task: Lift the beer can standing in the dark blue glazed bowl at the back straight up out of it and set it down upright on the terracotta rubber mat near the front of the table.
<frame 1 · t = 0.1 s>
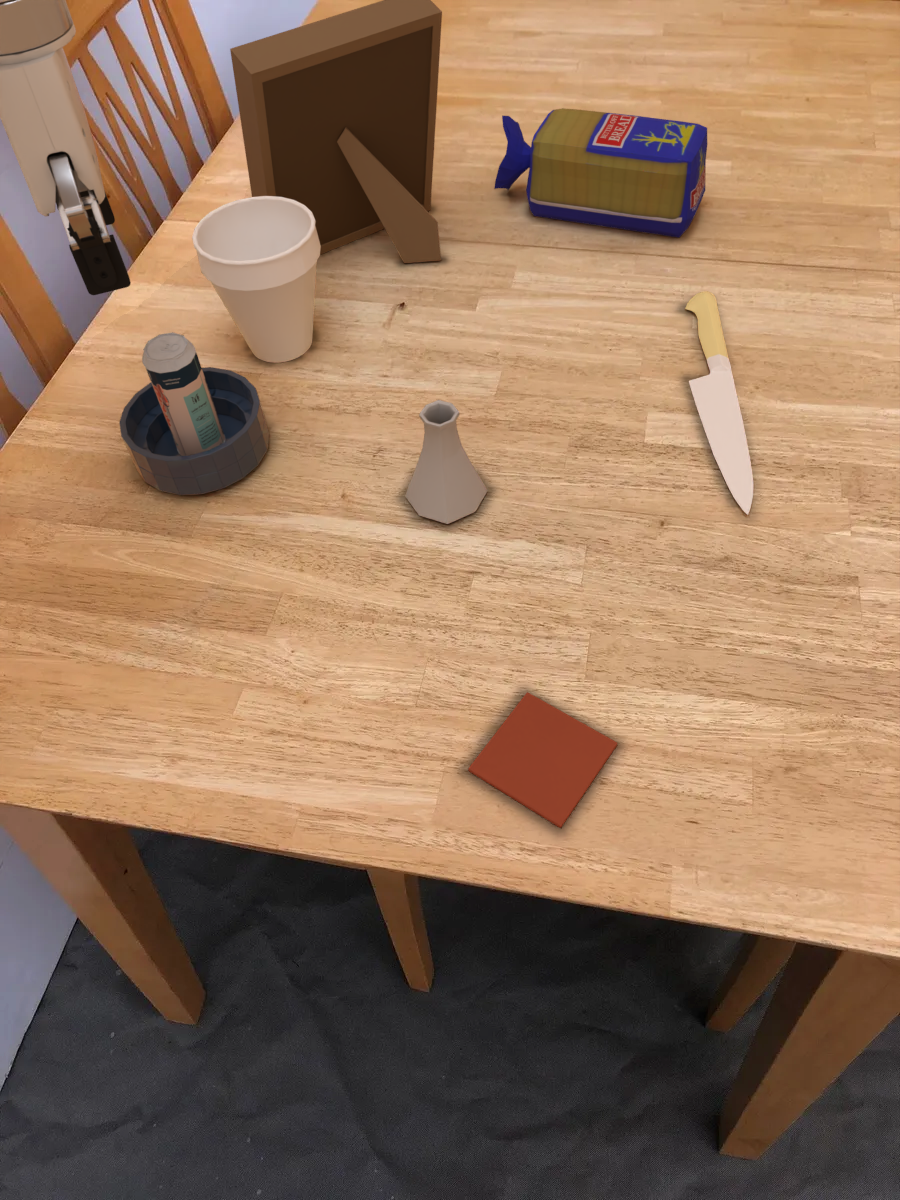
hand: (103, 256, 73), 22 cm above the table, tool pointing down, fingers open, 9 cm apart
bread: (598, 210, 114), on the table
flask: (446, 497, 86), on the table
mat: (543, 758, 69), on the table
beer can: (203, 448, 91), resting on bowl
cup: (282, 344, 102), on the table
knife: (713, 397, 92), on the table
bowl: (203, 450, 92), on the table
photo frame: (369, 253, 112), on the table
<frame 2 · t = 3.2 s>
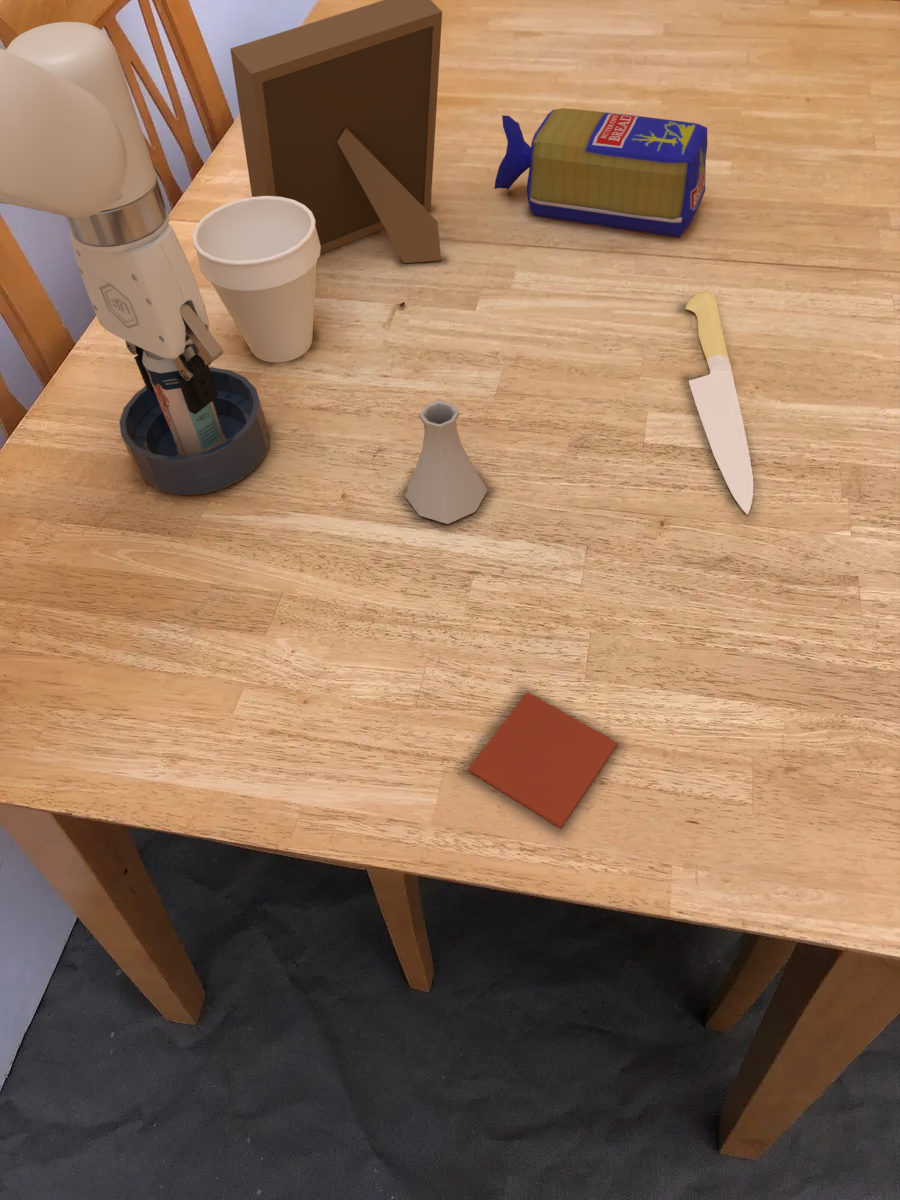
hand: (182, 392, 86), 7 cm above the table, tool pointing down, fingers closed on beer can, 4 cm apart
beer can: (203, 448, 91), resting on bowl, touching gripper
everything else where it was.
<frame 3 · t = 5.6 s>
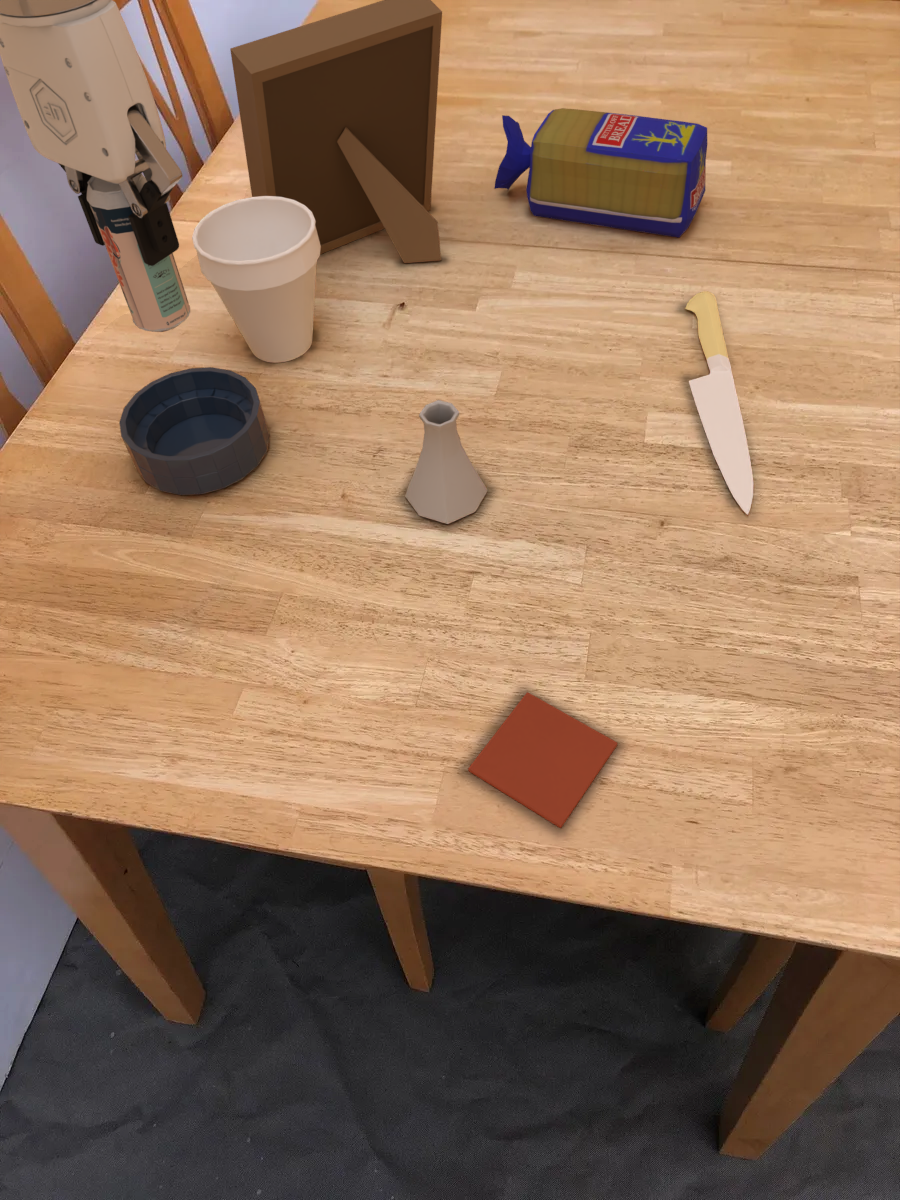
hand: (137, 244, 72), 24 cm above the table, tool pointing down, fingers closed on beer can, 4 cm apart
beer can: (164, 321, 77), point 17 cm above the table, touching gripper
everything else where it was.
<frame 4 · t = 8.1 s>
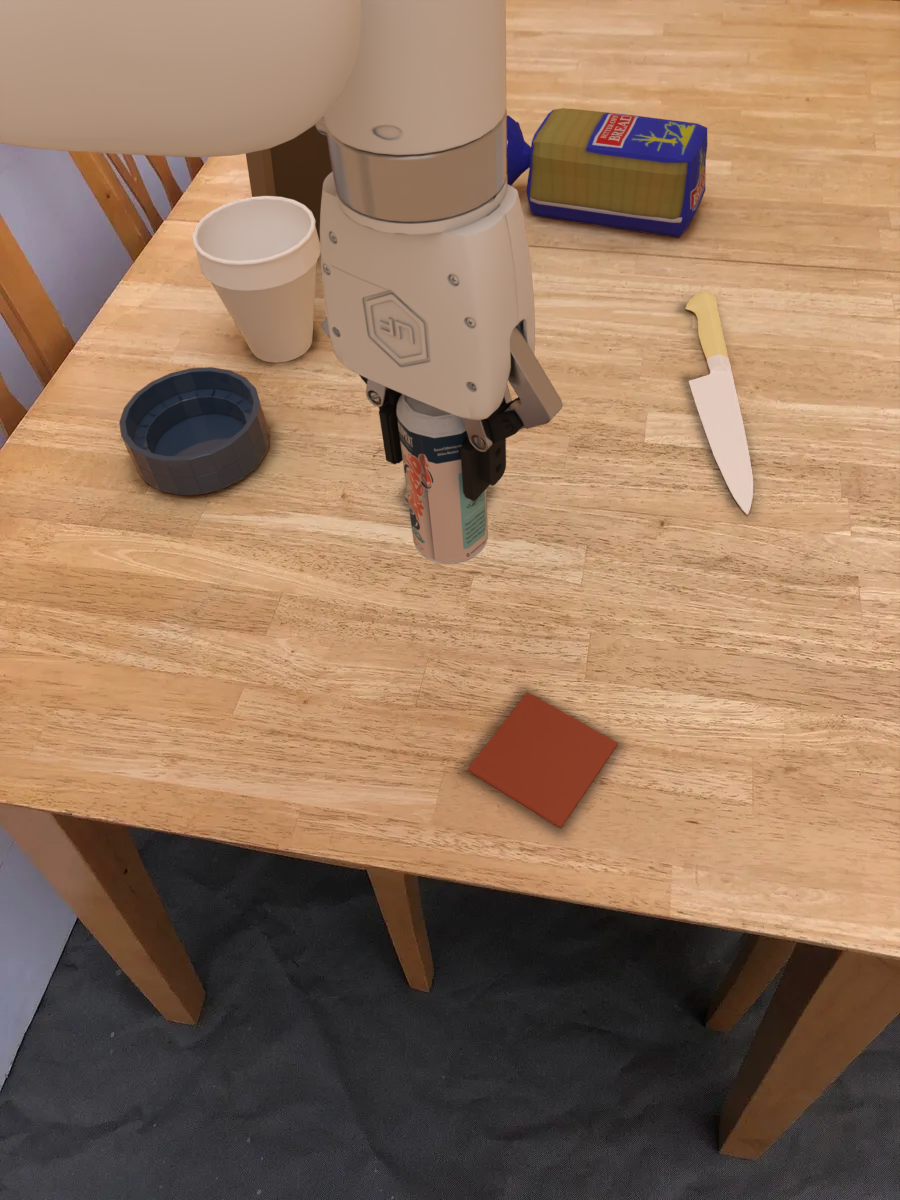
hand: (444, 464, 54), 24 cm above the table, tool pointing down, fingers closed on beer can, 4 cm apart
beer can: (451, 542, 59), point 17 cm above the table, touching gripper
everything else where it was.
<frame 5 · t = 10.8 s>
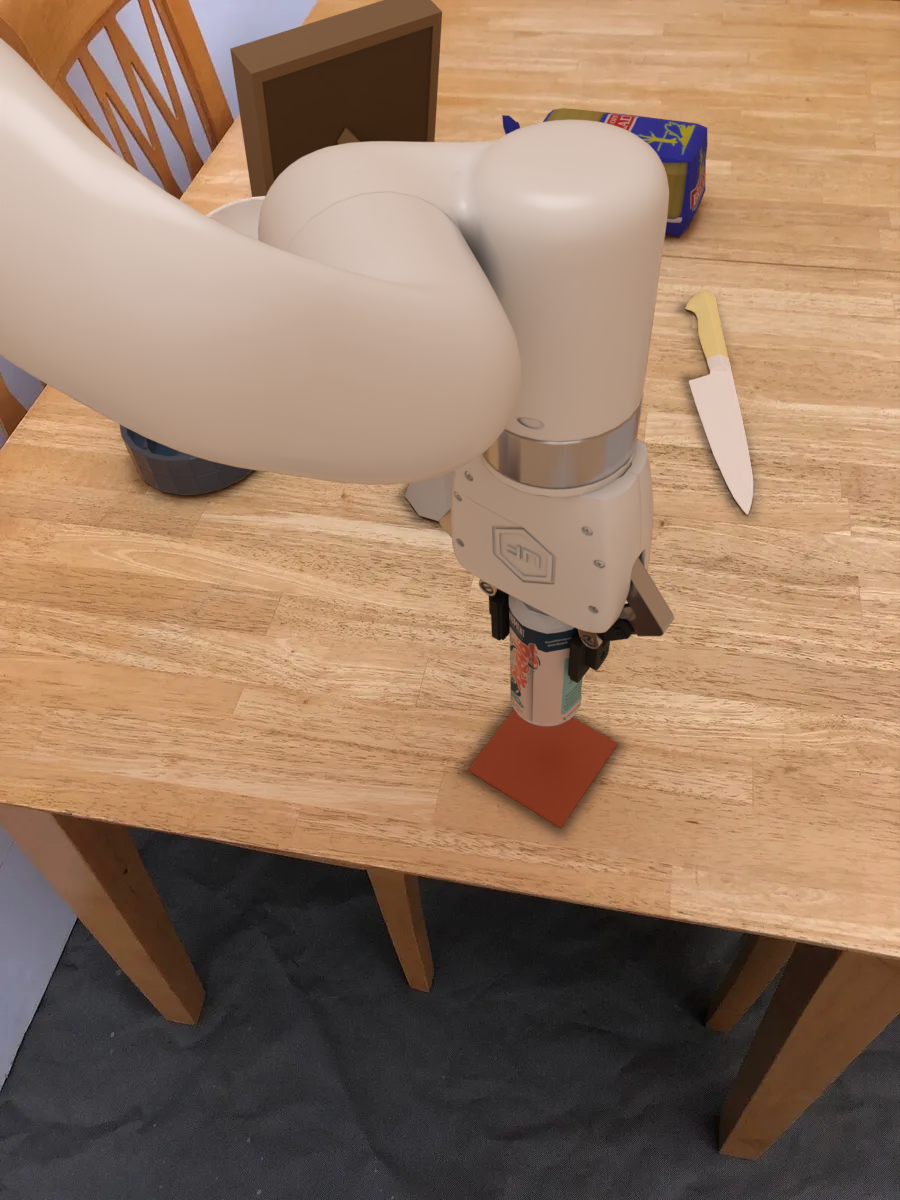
hand: (547, 642, 57), 15 cm above the table, tool pointing down, fingers closed on beer can, 4 cm apart
beer can: (545, 700, 62), point 8 cm above the table, touching gripper
everything else where it was.
when the fingers open (7 cm above the table, at t = 13.0 s): beer can stays where it is, resting on mat.
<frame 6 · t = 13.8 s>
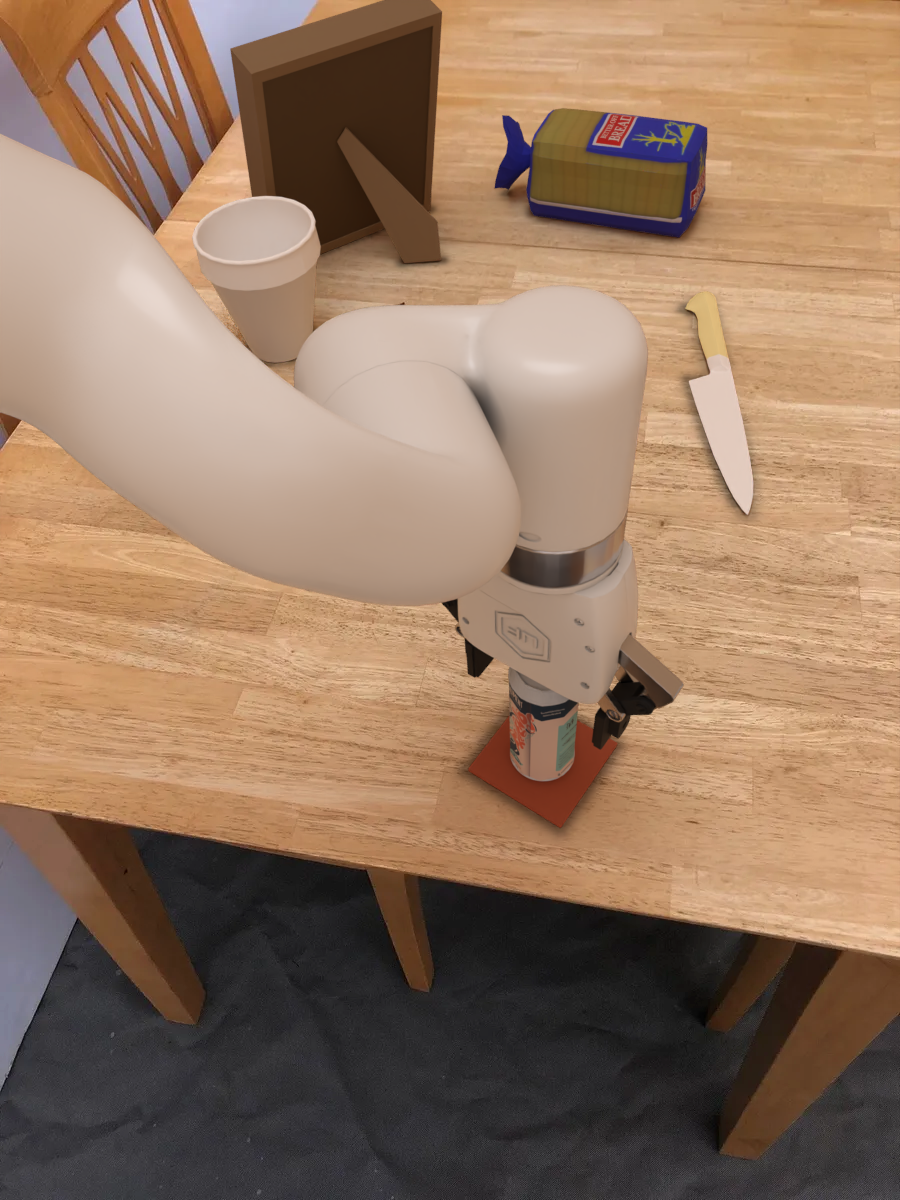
hand: (544, 695, 62), 9 cm above the table, tool pointing down, fingers open, 9 cm apart
beer can: (542, 756, 68), resting on mat
everything else where it was.
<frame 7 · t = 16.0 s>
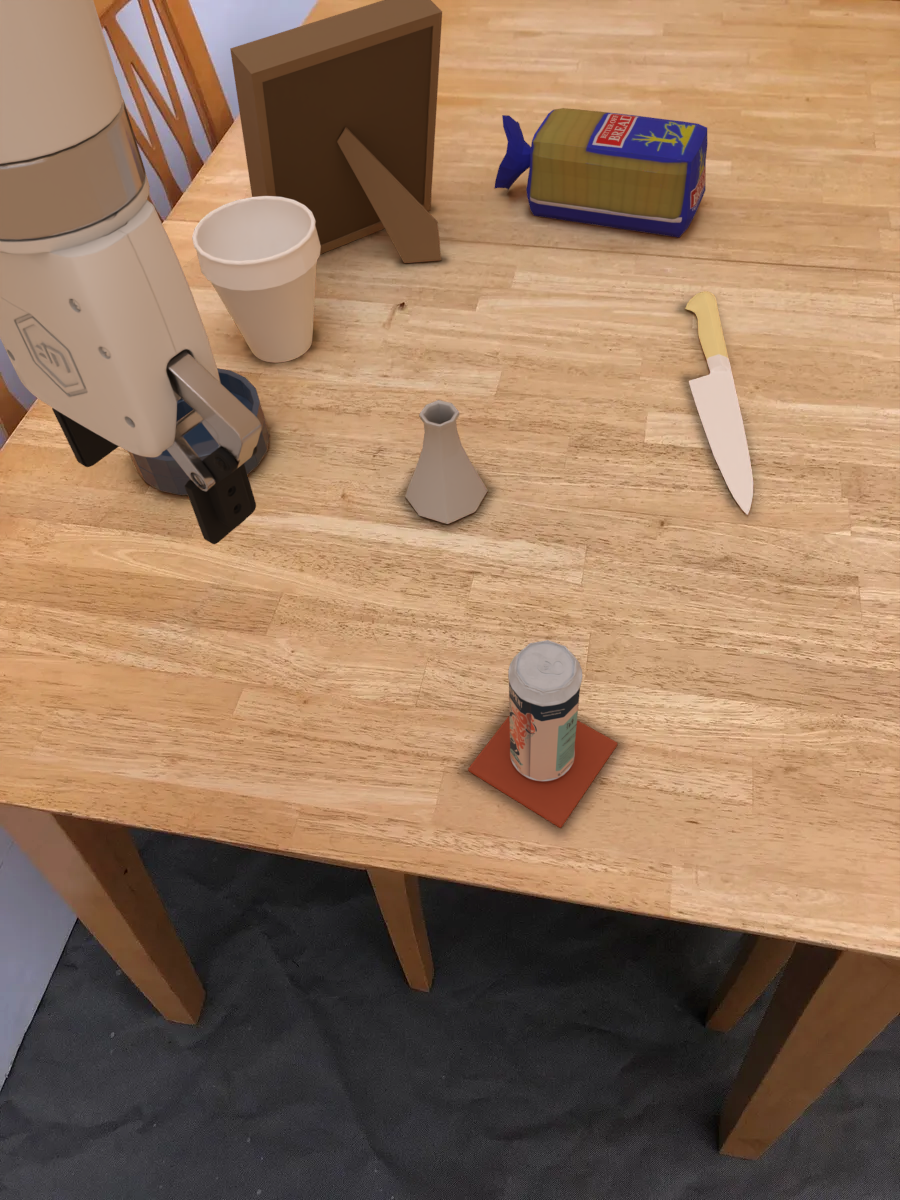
hand: (166, 486, 49), 28 cm above the table, tool pointing down, fingers open, 9 cm apart
nothing on the table moved.
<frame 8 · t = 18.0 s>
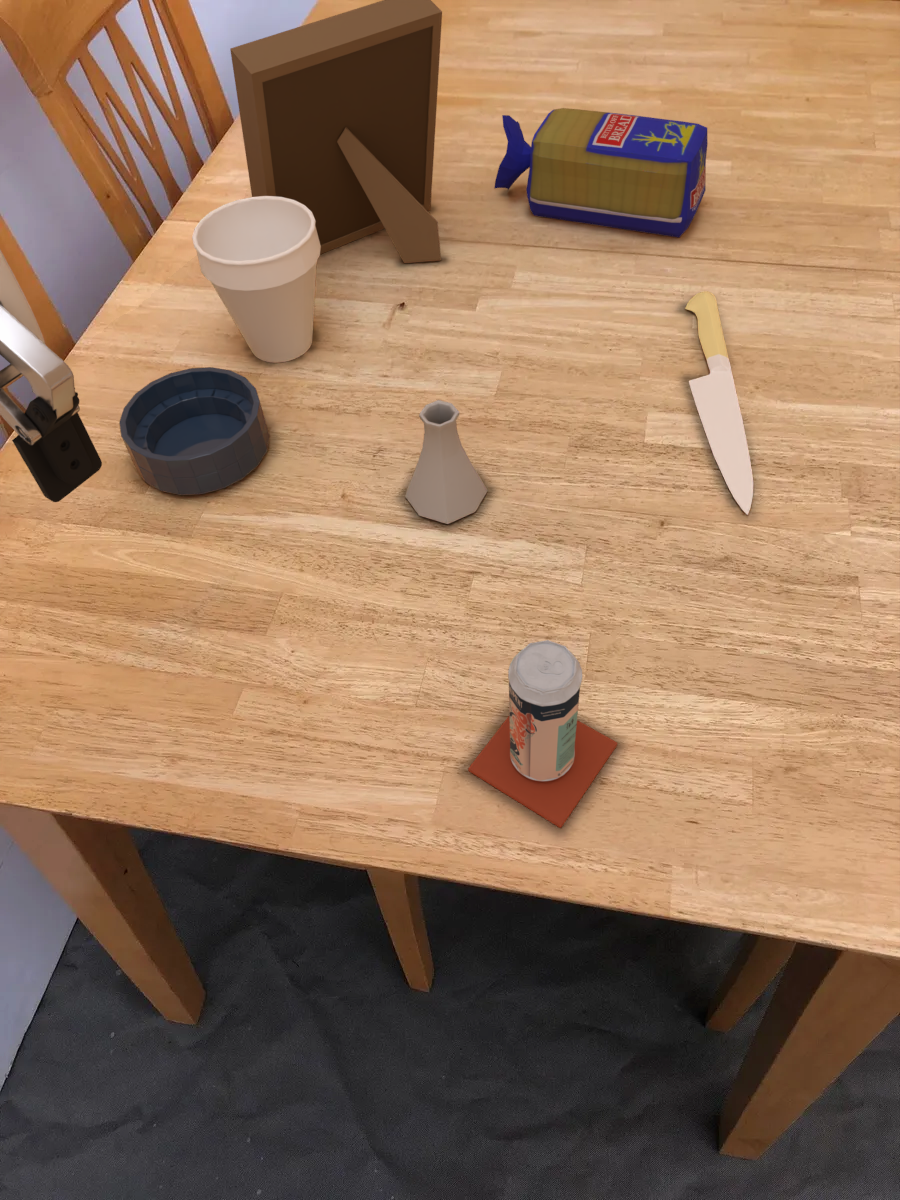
hand: (14, 447, 48), 30 cm above the table, tool pointing down, fingers open, 9 cm apart
nothing on the table moved.
at the end: beer can 0.1 cm off-centre on the mat, point 0.2 cm above the mat's base; beer can tilted 0°; beer can touching mat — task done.
